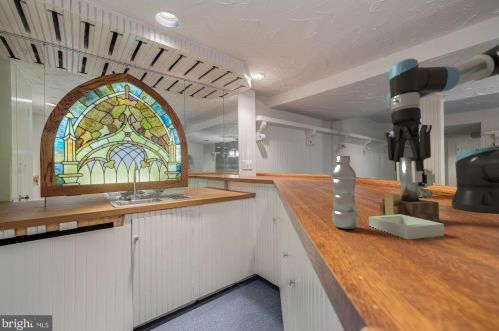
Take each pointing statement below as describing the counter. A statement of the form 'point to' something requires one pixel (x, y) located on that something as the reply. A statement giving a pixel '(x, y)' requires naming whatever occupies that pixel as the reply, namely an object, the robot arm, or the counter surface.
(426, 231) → the tray
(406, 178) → the grey metal peg
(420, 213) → the socket block
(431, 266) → the counter surface
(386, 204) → the brass block
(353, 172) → the plastic bottle
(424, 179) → the ball valve
